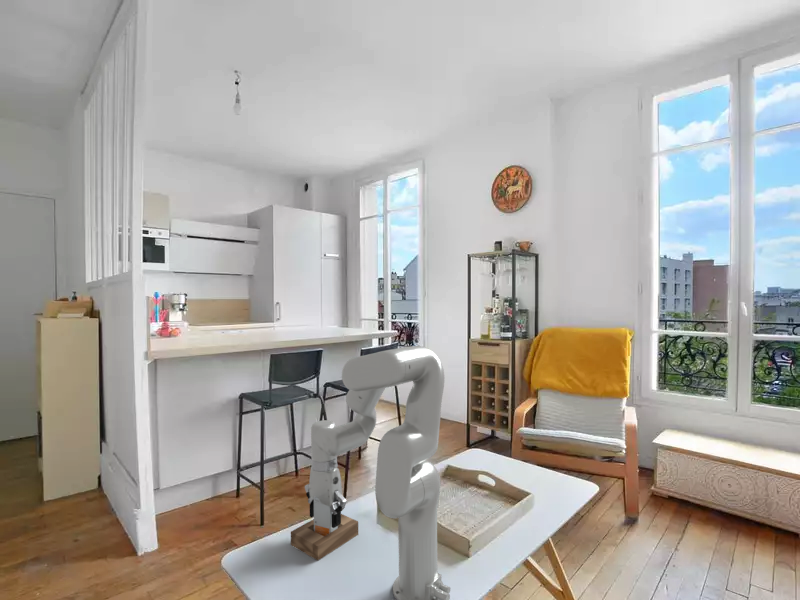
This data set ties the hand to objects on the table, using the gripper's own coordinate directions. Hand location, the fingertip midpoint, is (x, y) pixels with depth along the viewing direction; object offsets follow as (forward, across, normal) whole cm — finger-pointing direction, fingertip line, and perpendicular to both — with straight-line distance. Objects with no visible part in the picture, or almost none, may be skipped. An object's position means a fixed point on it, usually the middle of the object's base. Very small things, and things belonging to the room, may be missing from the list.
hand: (325, 520), depth 125 cm
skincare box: (+5, 0, 0) cm, 5 cm away
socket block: (+6, 0, 0) cm, 6 cm away
